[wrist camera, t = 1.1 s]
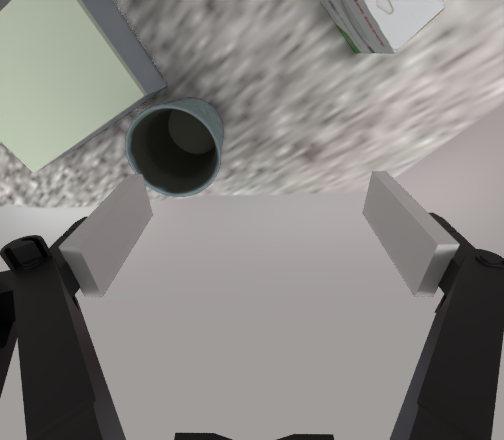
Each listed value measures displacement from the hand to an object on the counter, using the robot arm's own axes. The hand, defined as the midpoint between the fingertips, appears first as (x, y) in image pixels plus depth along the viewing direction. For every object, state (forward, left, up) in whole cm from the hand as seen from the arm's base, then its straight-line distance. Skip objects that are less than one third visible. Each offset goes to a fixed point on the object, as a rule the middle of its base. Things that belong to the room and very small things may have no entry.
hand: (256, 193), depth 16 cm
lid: (-14, -20, -18) cm, 31 cm away
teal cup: (-2, -9, -26) cm, 28 cm away
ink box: (-4, +15, -26) cm, 30 cm away
